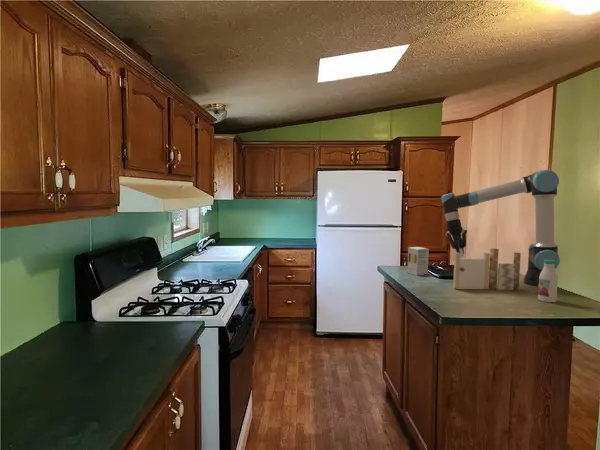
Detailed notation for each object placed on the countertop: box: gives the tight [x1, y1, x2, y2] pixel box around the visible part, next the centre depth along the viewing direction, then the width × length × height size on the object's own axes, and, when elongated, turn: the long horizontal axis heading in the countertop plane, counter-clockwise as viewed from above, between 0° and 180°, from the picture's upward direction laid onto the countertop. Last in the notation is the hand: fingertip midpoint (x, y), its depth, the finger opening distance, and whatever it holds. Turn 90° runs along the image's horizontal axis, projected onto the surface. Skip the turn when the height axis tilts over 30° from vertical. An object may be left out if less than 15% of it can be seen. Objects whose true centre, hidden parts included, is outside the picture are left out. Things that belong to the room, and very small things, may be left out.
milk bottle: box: [537, 260, 559, 303], centre depth 194 cm, size 8×8×20 cm
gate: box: [452, 252, 490, 290], centre depth 215 cm, size 18×4×19 cm, turn 91°
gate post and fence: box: [488, 248, 521, 291], centre depth 216 cm, size 16×4×22 cm, turn 91°
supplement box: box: [406, 246, 430, 276], centre depth 256 cm, size 10×9×17 cm
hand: (462, 260), depth 229 cm, fingers closed
